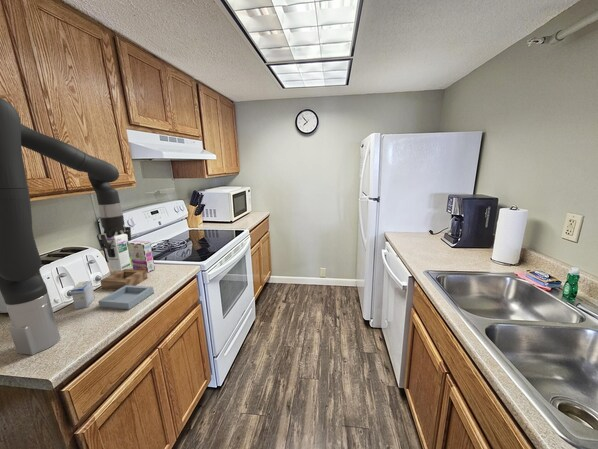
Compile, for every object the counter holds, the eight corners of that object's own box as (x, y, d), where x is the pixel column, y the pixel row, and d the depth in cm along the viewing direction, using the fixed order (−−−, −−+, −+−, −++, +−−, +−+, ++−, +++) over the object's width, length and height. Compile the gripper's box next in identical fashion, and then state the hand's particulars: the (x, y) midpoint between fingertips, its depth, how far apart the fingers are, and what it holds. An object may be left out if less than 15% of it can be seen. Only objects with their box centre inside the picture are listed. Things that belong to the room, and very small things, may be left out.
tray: (129, 309, 102) (128, 303, 101) (99, 307, 104) (98, 301, 104) (153, 292, 116) (152, 286, 115) (126, 291, 118) (125, 285, 117)
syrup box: (121, 271, 103) (115, 237, 100) (109, 270, 104) (102, 236, 101) (133, 265, 108) (127, 233, 105) (121, 264, 110) (115, 232, 106)
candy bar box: (155, 269, 142) (151, 241, 138) (147, 273, 137) (143, 244, 133) (140, 267, 145) (136, 240, 142) (132, 270, 141) (127, 242, 137)
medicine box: (83, 300, 110) (78, 282, 108) (95, 298, 112) (91, 280, 110) (75, 309, 103) (70, 290, 101) (88, 307, 105) (83, 288, 103)
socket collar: (126, 290, 118) (125, 281, 117) (102, 289, 120) (100, 280, 119) (147, 278, 131) (146, 270, 130) (124, 276, 133) (123, 268, 132)
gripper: (103, 218, 94) (112, 261, 98) (133, 211, 107) (140, 249, 111) (86, 218, 95) (95, 260, 99) (118, 211, 109) (125, 248, 112)
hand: (119, 254), depth 105 cm, fingers closed on syrup box, 5 cm apart
